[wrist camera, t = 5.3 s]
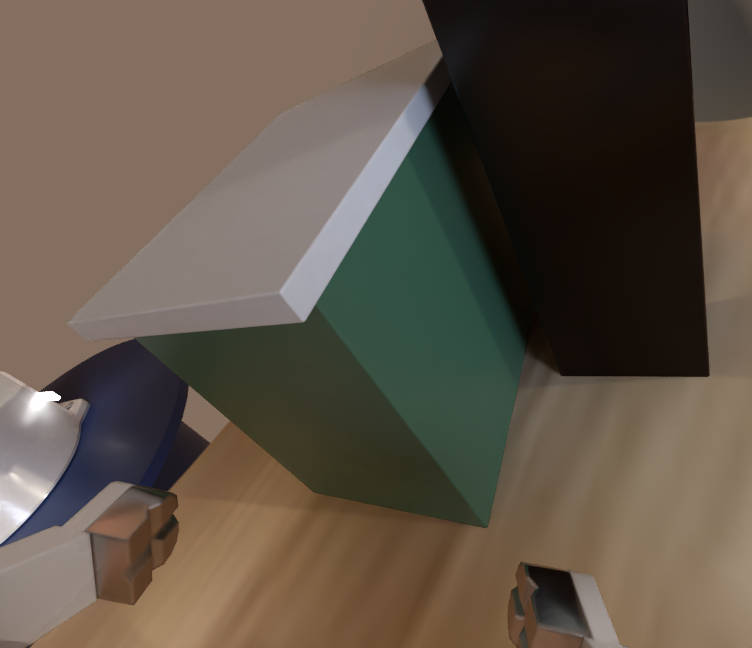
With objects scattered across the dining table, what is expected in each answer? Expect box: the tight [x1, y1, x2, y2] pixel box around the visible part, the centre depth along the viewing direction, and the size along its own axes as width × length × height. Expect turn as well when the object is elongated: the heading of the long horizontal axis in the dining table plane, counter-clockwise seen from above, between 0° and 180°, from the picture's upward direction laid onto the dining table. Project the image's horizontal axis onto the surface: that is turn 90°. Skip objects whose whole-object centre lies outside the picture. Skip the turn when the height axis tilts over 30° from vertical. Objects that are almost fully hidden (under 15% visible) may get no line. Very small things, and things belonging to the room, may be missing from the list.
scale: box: [67, 39, 535, 528], centre depth 22 cm, size 11×16×16 cm
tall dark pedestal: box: [422, 0, 710, 377], centre depth 17 cm, size 7×10×26 cm, turn 156°
